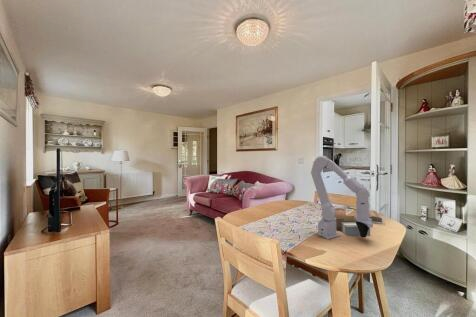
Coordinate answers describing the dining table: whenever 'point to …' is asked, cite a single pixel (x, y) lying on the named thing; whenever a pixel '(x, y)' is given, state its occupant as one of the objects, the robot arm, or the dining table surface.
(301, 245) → the dining table surface
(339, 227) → the display podium
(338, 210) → the plant pot
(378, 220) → the packaged product
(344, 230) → the carton
